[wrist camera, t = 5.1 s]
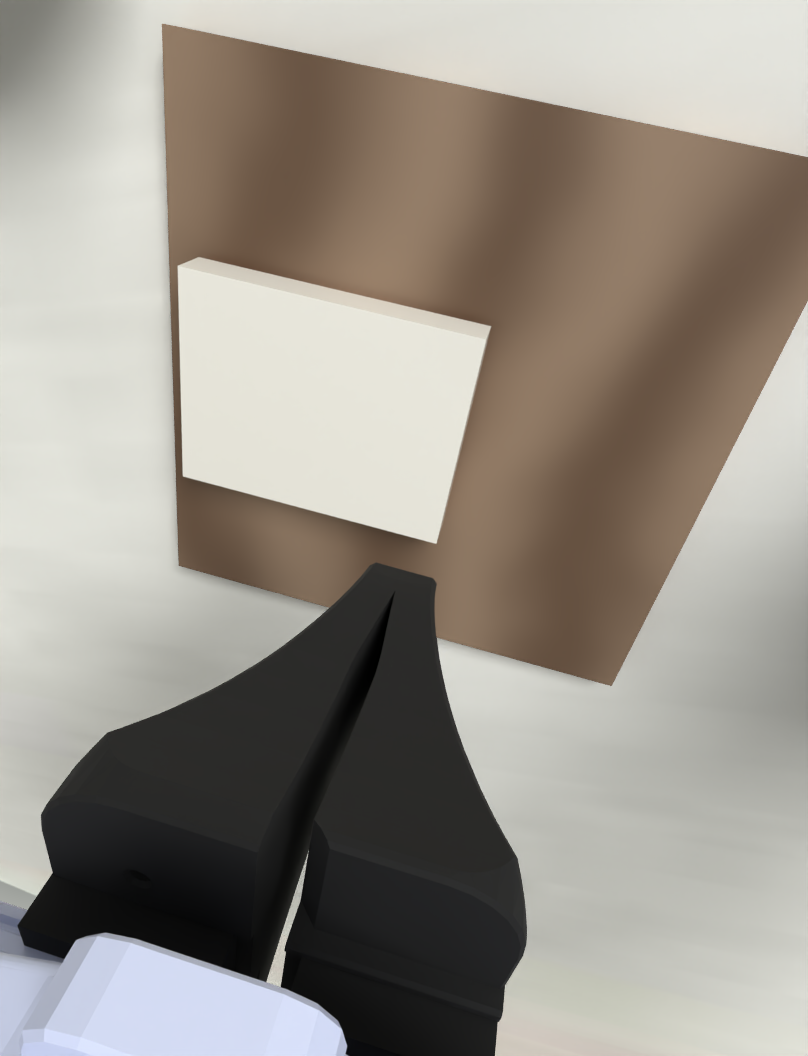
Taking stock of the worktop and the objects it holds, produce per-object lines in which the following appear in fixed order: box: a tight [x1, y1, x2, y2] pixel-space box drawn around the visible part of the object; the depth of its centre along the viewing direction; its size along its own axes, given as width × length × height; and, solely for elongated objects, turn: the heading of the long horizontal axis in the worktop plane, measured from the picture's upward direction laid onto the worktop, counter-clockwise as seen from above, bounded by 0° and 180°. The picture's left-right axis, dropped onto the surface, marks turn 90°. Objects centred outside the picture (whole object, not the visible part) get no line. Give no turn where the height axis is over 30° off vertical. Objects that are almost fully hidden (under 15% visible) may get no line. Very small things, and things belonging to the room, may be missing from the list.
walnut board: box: [162, 24, 808, 686], centre depth 22 cm, size 18×18×1 cm
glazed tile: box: [178, 257, 491, 544], centre depth 21 cm, size 2×7×9 cm
